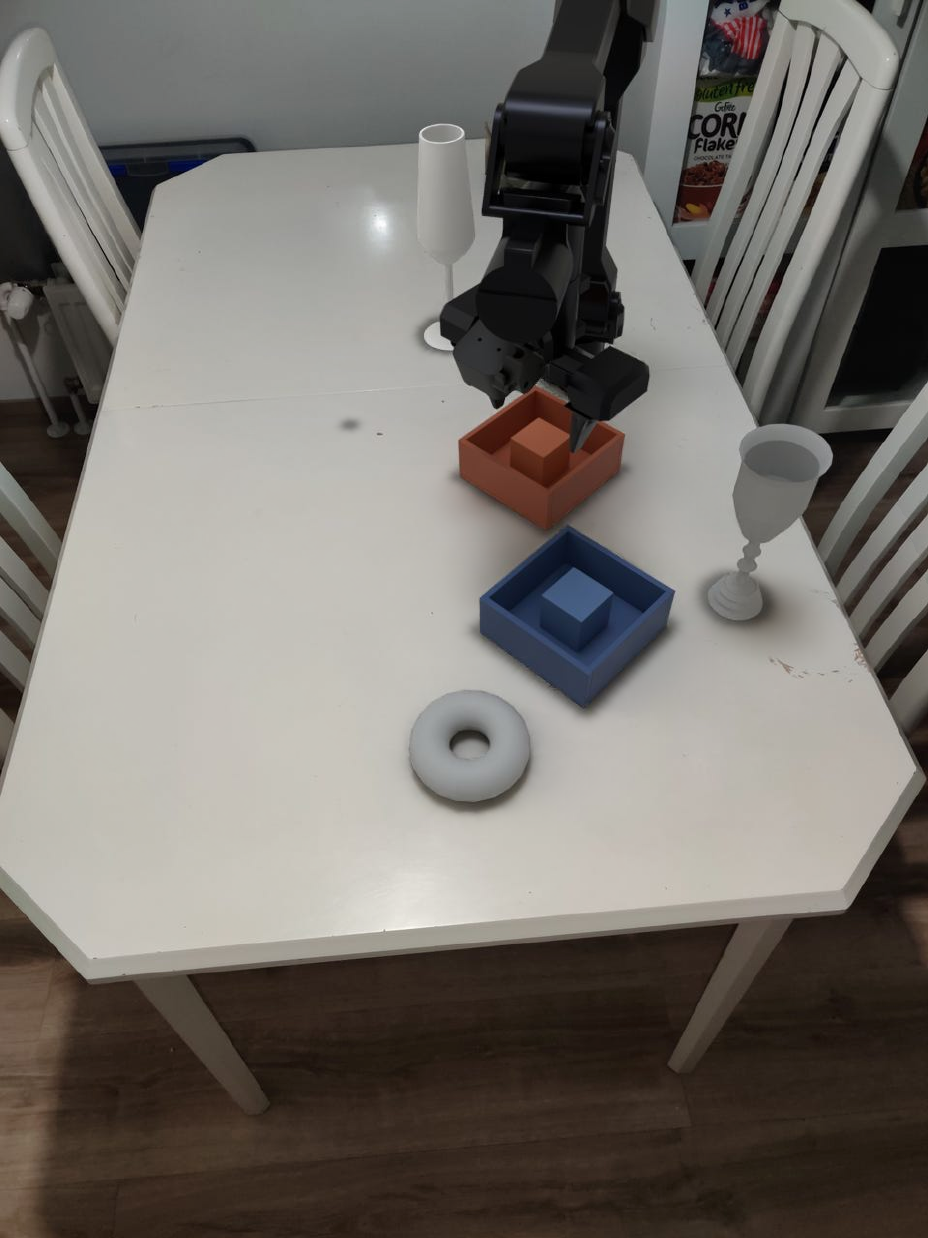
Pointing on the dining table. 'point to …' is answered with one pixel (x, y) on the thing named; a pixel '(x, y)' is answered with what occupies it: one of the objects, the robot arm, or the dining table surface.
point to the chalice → (768, 504)
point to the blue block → (575, 609)
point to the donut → (464, 774)
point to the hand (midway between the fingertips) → (535, 428)
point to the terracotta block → (540, 452)
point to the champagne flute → (444, 207)
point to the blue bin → (629, 630)
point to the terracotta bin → (544, 506)
